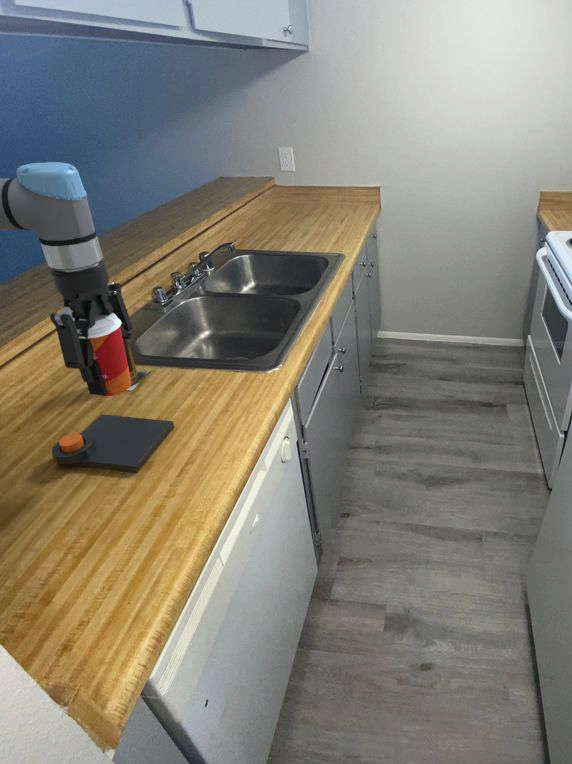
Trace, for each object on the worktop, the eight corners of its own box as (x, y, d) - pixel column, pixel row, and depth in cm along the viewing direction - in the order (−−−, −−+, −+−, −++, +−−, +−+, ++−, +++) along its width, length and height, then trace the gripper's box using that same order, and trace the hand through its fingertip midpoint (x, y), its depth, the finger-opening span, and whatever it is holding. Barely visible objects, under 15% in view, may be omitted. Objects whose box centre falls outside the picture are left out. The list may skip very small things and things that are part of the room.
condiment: (101, 389, 111) (87, 345, 105) (123, 369, 118) (111, 327, 113) (132, 391, 111) (119, 347, 105) (151, 371, 118) (140, 329, 113)
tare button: (57, 452, 89) (54, 445, 88) (71, 439, 92) (68, 432, 91) (75, 454, 88) (72, 446, 87) (88, 440, 91) (86, 433, 91)
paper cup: (86, 384, 87) (63, 317, 81) (132, 370, 92) (114, 306, 85) (94, 405, 82) (71, 336, 76) (142, 390, 86) (124, 323, 80)
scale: (49, 469, 89) (43, 455, 87) (100, 420, 101) (95, 407, 100) (133, 478, 88) (129, 464, 86) (174, 427, 100) (171, 414, 99)
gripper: (96, 242, 85) (127, 351, 95) (2, 286, 67) (52, 413, 78) (136, 245, 84) (162, 355, 95) (51, 290, 67) (94, 418, 77)
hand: (112, 381), depth 86 cm, fingers closed on paper cup, 7 cm apart
